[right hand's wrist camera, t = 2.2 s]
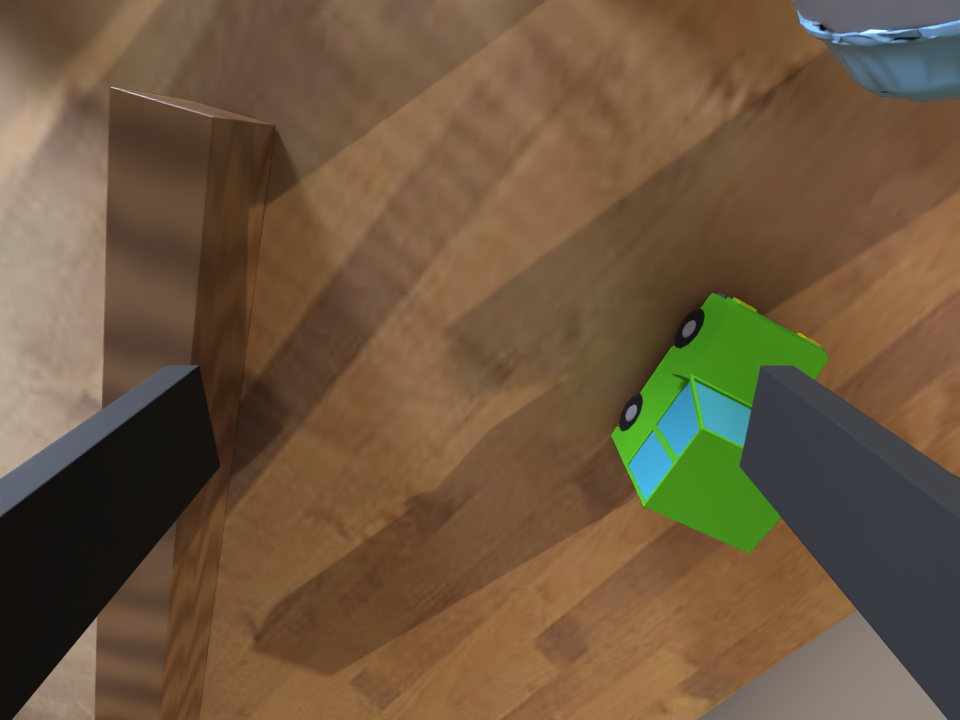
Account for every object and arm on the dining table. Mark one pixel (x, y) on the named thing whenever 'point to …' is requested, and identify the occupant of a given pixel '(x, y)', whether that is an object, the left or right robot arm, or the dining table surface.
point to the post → (176, 341)
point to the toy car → (708, 420)
